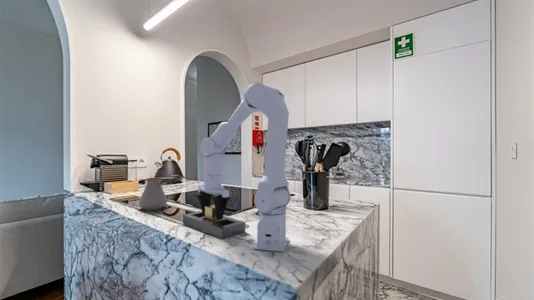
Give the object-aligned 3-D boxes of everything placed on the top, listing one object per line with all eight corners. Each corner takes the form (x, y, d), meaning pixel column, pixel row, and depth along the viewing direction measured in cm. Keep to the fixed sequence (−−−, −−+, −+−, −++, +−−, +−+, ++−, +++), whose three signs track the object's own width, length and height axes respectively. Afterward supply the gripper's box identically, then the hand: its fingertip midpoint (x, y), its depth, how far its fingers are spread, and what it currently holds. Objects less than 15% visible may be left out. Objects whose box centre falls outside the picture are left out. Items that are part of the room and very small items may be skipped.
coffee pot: (132, 209, 106) (132, 174, 106) (152, 204, 117) (152, 172, 117) (174, 214, 99) (174, 176, 99) (191, 208, 110) (192, 173, 110)
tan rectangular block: (222, 227, 84) (222, 206, 84) (212, 230, 81) (212, 208, 81) (214, 224, 86) (214, 204, 86) (204, 227, 83) (204, 206, 83)
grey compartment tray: (245, 231, 79) (245, 222, 79) (221, 239, 72) (222, 228, 72) (205, 218, 94) (205, 210, 94) (182, 223, 87) (182, 214, 87)
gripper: (236, 175, 81) (236, 218, 81) (210, 172, 91) (209, 210, 91) (218, 177, 76) (218, 222, 76) (192, 174, 86) (192, 213, 86)
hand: (212, 216), depth 83 cm, fingers open, 7 cm apart
